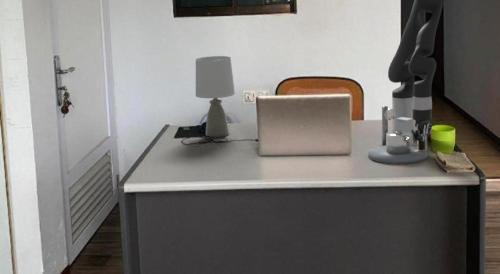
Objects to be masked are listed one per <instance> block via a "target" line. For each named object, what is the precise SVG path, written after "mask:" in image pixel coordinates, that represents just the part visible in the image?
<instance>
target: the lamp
mask: <svg viewBox="0 0 500 274" xmlns="http://www.w3.org/2000/svg"><path fill="white" fill-rule="evenodd" d="M231 58H232V57H230V56H226V55H224V56H223V55H215V56H213V55H212V56H204V57H198V58H197V57H196V59H195V97H197V98H200V99H211V100H209V101H208V102H209V104H210V106H209V108H208V112H207V116H206V124H205V126H206V127H205V135H206V137H208V136H209V138H223V137H226V136H229V134H230V130H229V125H228V120H227V115H226V113H225V110H224V108H223V106H222V99H221V98H228V97H232V96H234V95H235V93H236V92H235V84H234V77H233V76H234V74H233V69H232V61H231V60H232V59H231Z"/></svg>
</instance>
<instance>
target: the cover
mask: <svg viewBox="0 0 500 274" xmlns="http://www.w3.org/2000/svg"><path fill="white" fill-rule="evenodd" d="M386 152H387V153H388V154H393V155H405V154H409V153H411V133H409V132H404V131H393V132H392V131H388V133H386Z"/></svg>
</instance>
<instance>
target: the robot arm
mask: <svg viewBox="0 0 500 274" xmlns="http://www.w3.org/2000/svg"><path fill="white" fill-rule="evenodd" d="M443 5H444V0H414V1H413V4H412V8H411V11H410V15H409V18H408V20H407V23H406V26H405V28H404V30H403V33H402V36H401V39H400V41H399V45H398V47H397V50H396V53H395V54H394V56H393V58H392V59H391V62H390V64H389V67H388V71H387V72H388V74H387V78H388V80H389V81H390V82H391V83H397V84H398V83H402V84H401V85H400V86H399V87H397V88H395V89H393V90H392V93H391V97H392V98H391V105H392V106H391V109H392V110H394V111H395V113H396V116H395V118H394V119H392V120H391V121H392V126H391V127H392V128H391V129H392V130H391V132H393V131H397V118H400V117H405V118H411V119H413V121H415V124H414V128H413V129H412V133H413V139H414V140H415V141H417V140H418V141H419V150H425V141H426V138H427V139H429V136H430V134H431V132H432V131H431V130H432V128H433V125H432V124H431V123H430V121H431V120H432V119H433V118H432V117H433V116H432V115H433V112H432V111H433V101H432V99H433V98H432V85H433V80H434V76H435V73H436V70H437V61H436V60H435V58H433V57H430V56H432V54H433V52H434V48H435V38H436V33H437V29H438V25H439V20H440V18H441V14H442V10H443ZM420 12H425V13H430V14H431V17H430V19H429V20H428V21H427V22H426V23H425V24H423V22H422V20H421V19H422V18H421V14H420ZM409 59H410V60H409ZM408 60H409V61H408ZM415 76H426V77H425V79H423V80H417V81H415Z"/></svg>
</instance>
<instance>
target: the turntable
mask: <svg viewBox="0 0 500 274" xmlns="http://www.w3.org/2000/svg"><path fill="white" fill-rule="evenodd" d="M416 144H417V145H413V146H411V153H409V154H405V155H393V154H388V153H387V152H386V146H380V145H379V146H376V147H372V148H370V149H369V150H368V152H367V153H368V155H367V156H368V159H369V160H372V161H374V162H377V163H382V164H383V163H385V164H394V165H396V164H397V165H398V164H399V165H400V164H403V165H404V164H413V163H418V162H422V161H424V160H425V161H426V159H428V157H429V151H428V138H426V141H425V150H419V141H418V140H416Z"/></svg>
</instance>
